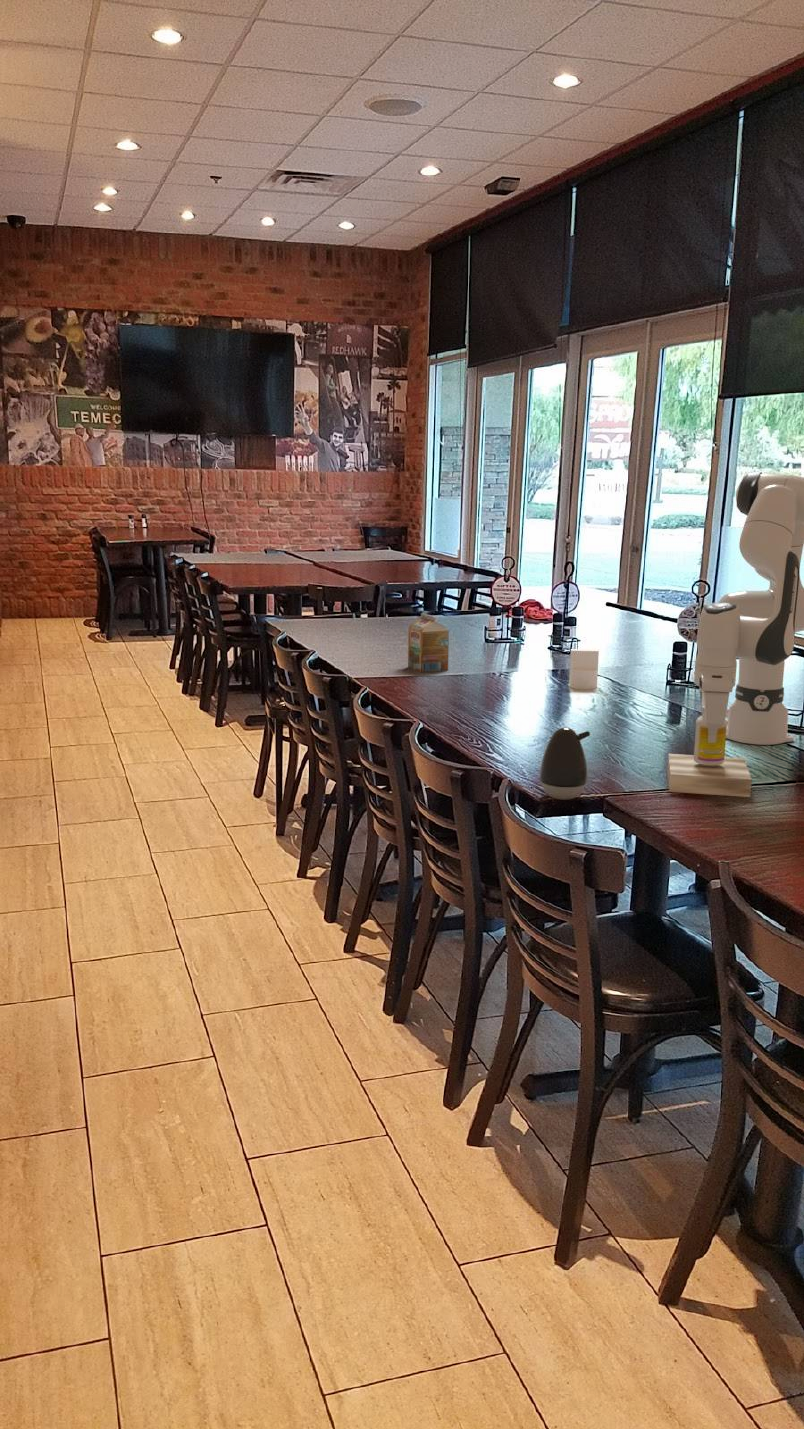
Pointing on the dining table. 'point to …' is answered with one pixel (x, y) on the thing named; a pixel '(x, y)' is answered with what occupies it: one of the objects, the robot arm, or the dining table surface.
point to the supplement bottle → (709, 744)
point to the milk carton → (428, 645)
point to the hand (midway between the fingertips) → (710, 737)
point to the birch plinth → (708, 776)
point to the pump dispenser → (564, 765)
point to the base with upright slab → (583, 668)
